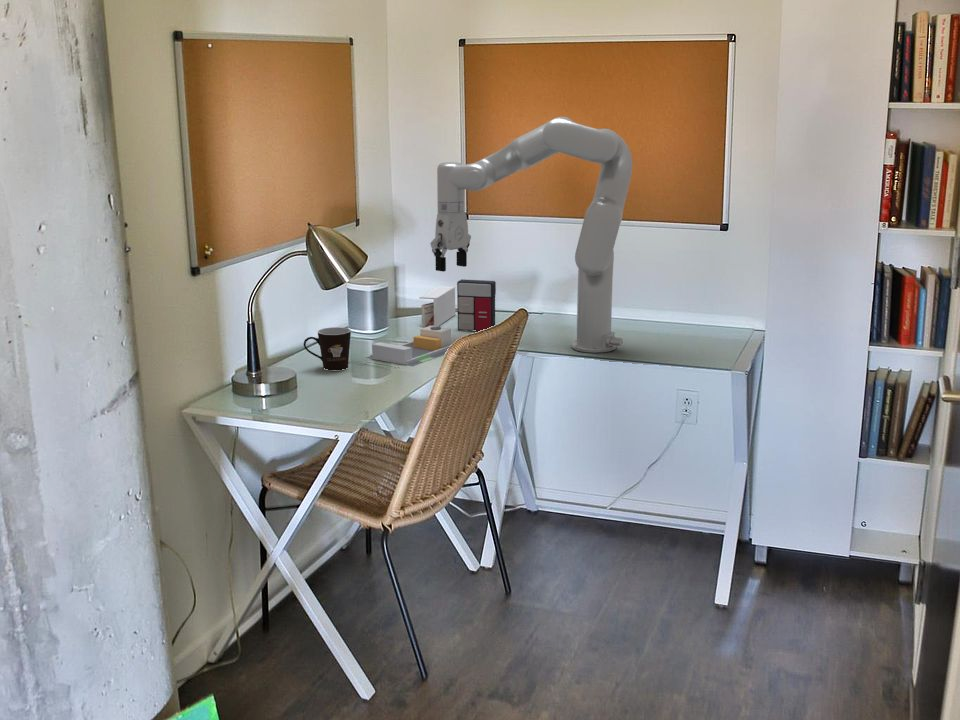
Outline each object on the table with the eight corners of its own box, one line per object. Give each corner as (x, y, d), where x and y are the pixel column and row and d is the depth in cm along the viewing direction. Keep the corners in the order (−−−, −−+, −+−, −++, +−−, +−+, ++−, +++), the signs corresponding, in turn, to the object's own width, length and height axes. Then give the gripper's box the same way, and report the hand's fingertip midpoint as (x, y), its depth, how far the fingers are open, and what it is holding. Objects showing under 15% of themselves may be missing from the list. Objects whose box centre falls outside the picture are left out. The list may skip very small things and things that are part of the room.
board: (421, 343, 307) (421, 325, 306) (467, 350, 299) (467, 332, 297) (365, 362, 287) (364, 343, 286) (412, 370, 279) (412, 351, 277)
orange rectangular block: (418, 345, 299) (417, 335, 299) (441, 349, 295) (441, 339, 294) (413, 347, 298) (413, 336, 297) (436, 351, 293) (436, 340, 293)
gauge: (431, 341, 303) (430, 324, 302) (451, 344, 300) (451, 327, 298) (420, 344, 299) (420, 327, 298) (440, 348, 296) (440, 331, 294)
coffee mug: (356, 364, 285) (355, 327, 282) (346, 373, 277) (344, 335, 274) (315, 362, 287) (313, 326, 285) (303, 371, 279) (301, 333, 277)
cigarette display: (439, 314, 345) (438, 285, 343) (455, 315, 343) (455, 286, 341) (418, 328, 326) (418, 297, 324) (436, 329, 325) (435, 298, 322)
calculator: (456, 331, 322) (456, 281, 318) (461, 327, 326) (460, 279, 322) (491, 333, 319) (491, 283, 315) (495, 330, 323) (495, 280, 319)
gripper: (442, 211, 289) (443, 274, 294) (480, 205, 303) (479, 265, 307) (420, 209, 294) (421, 271, 298) (458, 203, 307) (458, 263, 312)
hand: (451, 268), depth 303 cm, fingers open, 9 cm apart
